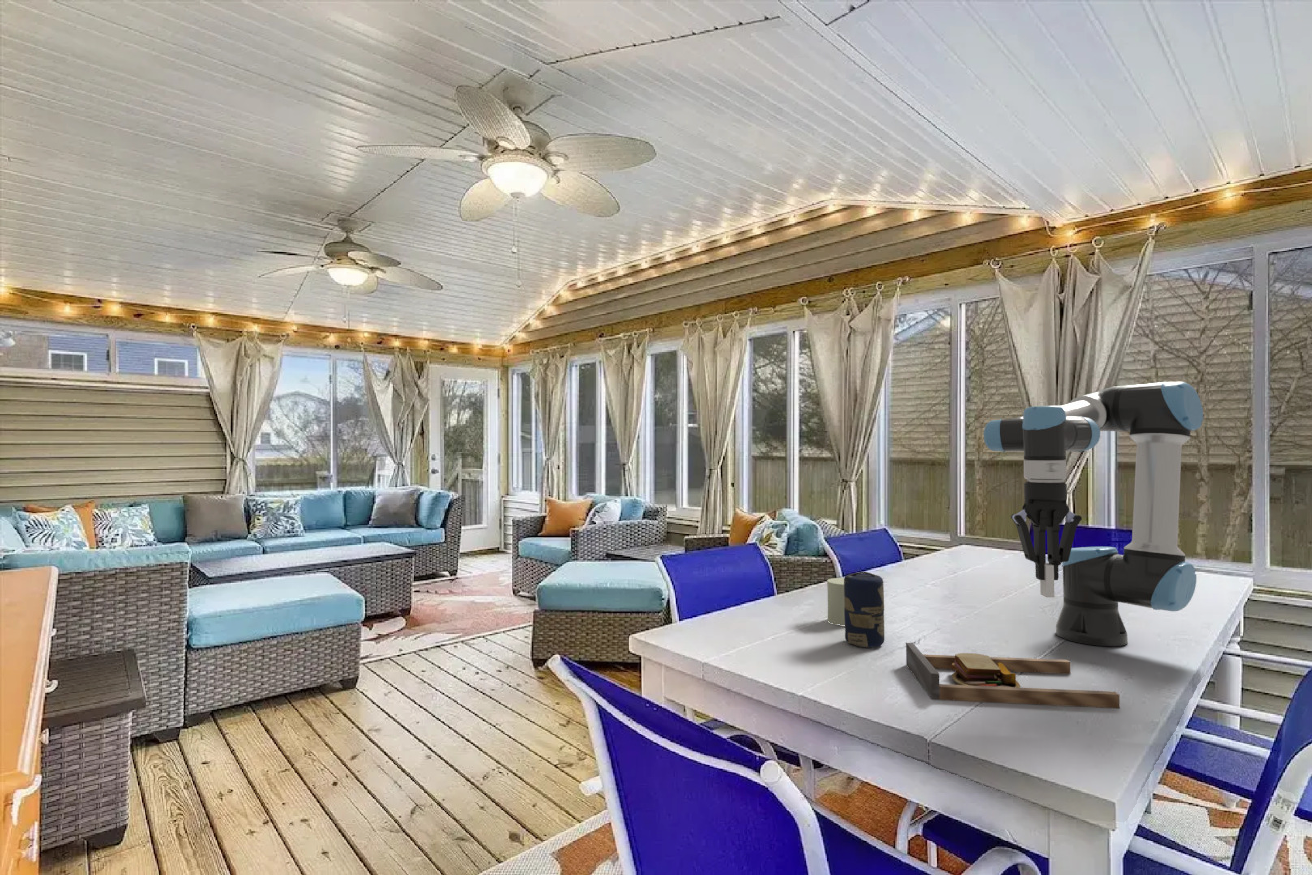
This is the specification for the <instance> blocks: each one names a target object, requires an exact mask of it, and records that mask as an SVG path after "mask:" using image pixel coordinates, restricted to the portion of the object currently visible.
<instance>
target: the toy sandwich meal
mask: <svg viewBox="0 0 1312 875" xmlns="http://www.w3.org/2000/svg"><path fill="white" fill-rule="evenodd" d="M954 656H955V660H956V661H955V663H952V664H951V668H952V669H951V670H953V671H955V672H953V673H952V675H951V678H952V680H953V682H955V683H956V685H972V686H995V687H1018V688H1021V684H1020V683H1019V681H1018V680H1017V676H1016V675H1017V674H1016V673H1012V672H1011V671H1008V669H1007V668H1006V667H1005V666H1004V665H1003V664H1002V663H998V666H997V665H996V664H995V663H994V662H993V661H992V660H991V657H992V656H989V655H985V654H981V653H971V652H965V653H964V652H962V653H961V652H960V653H955V654H954Z"/></svg>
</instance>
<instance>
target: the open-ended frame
mask: <svg viewBox="0 0 1312 875" xmlns="http://www.w3.org/2000/svg"><path fill="white" fill-rule="evenodd" d="M905 649H906V650H905V654H906V656H905V657H906V658H905V663H906V667H907V666H908V667H909V668H908V667H907V668H908V669H909V671H910V670H911V671H912V672H911V671H910V672H911V673H912V675H913V676H914V678H915V679H916V680H917V681H919V682H918V683H919V684H920V686H921V685H922V686H921V687H922V689H923V690H924V691H925V692H926V694H927V695H928V697H929V698H930V699H931V700H937V701H938V700H939V701H957V702H959V701H960V702H979V703H981V702H982V703H983V702H984V703H998V704H999V703H1001V704H1003V703H1004V704H1020V705H1021V704H1023V705H1041V706H1042V705H1043V706H1044V705H1046V706H1065V707H1067V706H1068V707H1087V708H1088V707H1089V708H1109V709H1111V708H1112V709H1120V707H1121V706H1120V705H1121V704H1120V702H1121V701H1120V698H1121V697H1120V694H1119V693H1118V692H1116V691H1108V690H1104V691H1103V690H1085V689H1084V690H1083V689H1081V690H1080V689H1063V688H1062V689H1059V688H1041V687H1040V688H1039V687H1038V688H1037V687H1020V688H1018V687H995V686H972V685H958V684H949V683H946V684H945V683H943V684H942V683H941V684H940V673H939V671H938V670H937V669H941V670H943V669H944V670H946V669H947V670H948V669H949V670H953V669H952V668H951V664H952V663H955V661H956V660H955V655H949V654H948V655H945V654H944V655H943V654H942V655H941V654H923V652H921V651H920V649H919V648H918V647H917V646H916V645H915V644H914V642H905ZM990 657H991V660H992V661H993V662H994V663H995V664H996V665H997V666H998V663H1002V664H1003V665H1004V666H1005V667H1006V668H1007V669H1008V671H1009V672H1018V673H1019V672H1020V673H1022V672H1023V673H1043V674H1045V673H1046V674H1065V675H1067V674H1068V675H1071V661H1070V660H1068V659H1052V658H1032V657H1031V658H1026V657H1001V656H998V657H997V656H990Z"/></svg>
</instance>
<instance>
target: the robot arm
mask: <svg viewBox="0 0 1312 875" xmlns="http://www.w3.org/2000/svg"><path fill="white" fill-rule="evenodd" d="M1022 412H1023V414H1022V415H1021V416H1018V417H1013V418H1008V419H1007V418H1006V419H1003V418H1000V419H994V420H990V421H989V422H987V423H986V424H985V427H984V429H983V441H984V443H985V445H986V447H987V448H988V449H989V450H990V451H994V452H1003V453H1007V452H1023V478H1024V479H1025V480H1026V481H1024V483H1023V487H1024V488H1023V489H1024V492H1023V493H1024V494H1023V495H1024V504H1023V506H1022V510H1021V511H1018V512H1017V513H1012V514H1011V515H1010V518H1011V520H1012V521H1013V522H1014V524H1015V526H1016V529H1017V530H1016V531H1017V532H1018V536H1019V540H1020V544H1021V547H1022V551H1023V555H1024V557H1025V559H1026V560H1028V561H1031V562H1033V563H1034V565H1035V566H1034V567H1035V578H1036V579H1037V580H1039V582H1040V583H1039V584H1040V586H1039V587H1040V590H1039V592H1040V595H1041V596H1043V597H1045V598H1055V581H1059V577H1060V576H1059V566H1061V568H1062V589H1063V590H1062V591H1063V592H1062V593H1063V594H1062V595H1063V605H1062V607H1061V608H1062V609H1061V611H1060V613H1059V616H1058V619H1057V621H1056V625H1055V630H1056V631H1055V634H1056V635H1057V636H1058V637H1060V638H1062V639H1063V640H1067V641H1071V642H1075V643H1077V644H1084V645H1090V646H1099V647H1120V646H1125V645H1127V644H1128V631H1127V629H1126V626H1125V625H1124V624H1125V623H1124V622H1123V619H1122V616H1121V614H1120V612H1119V603H1123V604H1127V605H1132V606H1137V607H1144V608H1148V609H1153V610H1156V611H1167V612H1178V611H1181V610H1184V608H1186V607H1187V606H1188V605H1189V603H1190V602H1191V600H1192V598H1193V596H1194V594H1195V591H1196V588H1197V587H1196V586H1197V574H1196V569H1195V567H1194V565H1193V564H1192V563H1189V562H1188V561H1186V554H1185V553H1184V552H1183V551H1182V550H1181V549H1180V548H1179V546H1178V542H1179V541H1178V537H1179V518H1180V517H1179V516H1180V492H1181V473H1182V472H1181V469H1182V468H1181V467H1182V448H1183V447H1182V446H1183V445H1184V444H1185V443H1187V442H1188V441H1190V440H1191V431H1196V430H1198V429H1200V428H1201V427H1202V423H1203V420H1204V410H1203V405H1202V401H1201V399H1200V397H1199V394H1198V392H1197V391H1196V389H1195V388H1194V387H1193V386H1192V385H1191V384H1189V383H1187V382H1185V381H1162V382H1151V383H1141V384H1130V385H1129V384H1128V385H1117V386H1116V385H1115V386H1111V387H1107V388H1104V389H1099V390H1096V391H1092V392H1089V393H1085V394H1083V395H1079V396H1077V397H1074V398H1073V399H1071V400H1070V401H1069V402H1068V403H1066V404H1062V405H1038V406H1037V405H1036V406H1028V407H1026V408H1025V409H1024V410H1023V411H1022ZM1101 432H1129V438H1130V439H1131V440H1132V441H1133V442H1134V443H1135V444H1136V451H1135V452H1136V453H1135V470H1134V471H1135V472H1134V476H1135V477H1134V491H1133V493H1134V494H1133V509H1132V510H1133V514H1132V532H1131V533H1132V535H1131V536H1132V537H1131V541H1130V543H1128V544H1127V545H1125V546H1124V547H1123V554H1119V551H1118V549H1117V547H1114V546H1085V547H1084V546H1081V547H1073V543H1074V539H1075V534H1076V532H1077V527H1078V525H1079V524H1080V523H1081V521H1082V519H1083V517H1082V516H1081V515H1078V514H1076V513H1074V512H1073V511H1071V510H1070V507H1069V505H1068V503H1067V500H1068V487H1067V486H1068V484H1067V483H1066V482H1064V480H1066V479H1067V452H1073V453H1081V452H1085V451H1089V450H1091V449H1093V448H1094V447H1095V446H1096V445H1097V444H1098V443H1099V441H1100V438H1101ZM1027 518H1028V519H1029V521H1030V522H1031V523H1032V530H1033V541H1032V539H1031V534H1030V531H1029V527H1028V524H1027V521H1028V520H1027ZM1063 520H1064V521H1065V522H1064V525H1063V529H1062V533H1061V537H1060V536H1059V534H1060V531H1061V527H1060V526H1061V523H1062V522H1063ZM1046 542H1047V543H1046ZM1046 546H1047V547H1046ZM1046 549H1047V551H1046ZM1046 552H1047V553H1046ZM1046 555H1047V557H1046ZM1046 560H1047V561H1046Z"/></svg>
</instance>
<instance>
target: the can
mask: <svg viewBox="0 0 1312 875" xmlns="http://www.w3.org/2000/svg"><path fill="white" fill-rule="evenodd" d="M844 578H845V577H832V578H829V579H827V580H826V582H827V584H826V585H827V587H826V588H827V620H828V621H829V622H830V623H833V624H840V625H845V615H844V608H845V606H844V605H845V604H844ZM830 623H829V624H830Z"/></svg>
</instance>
